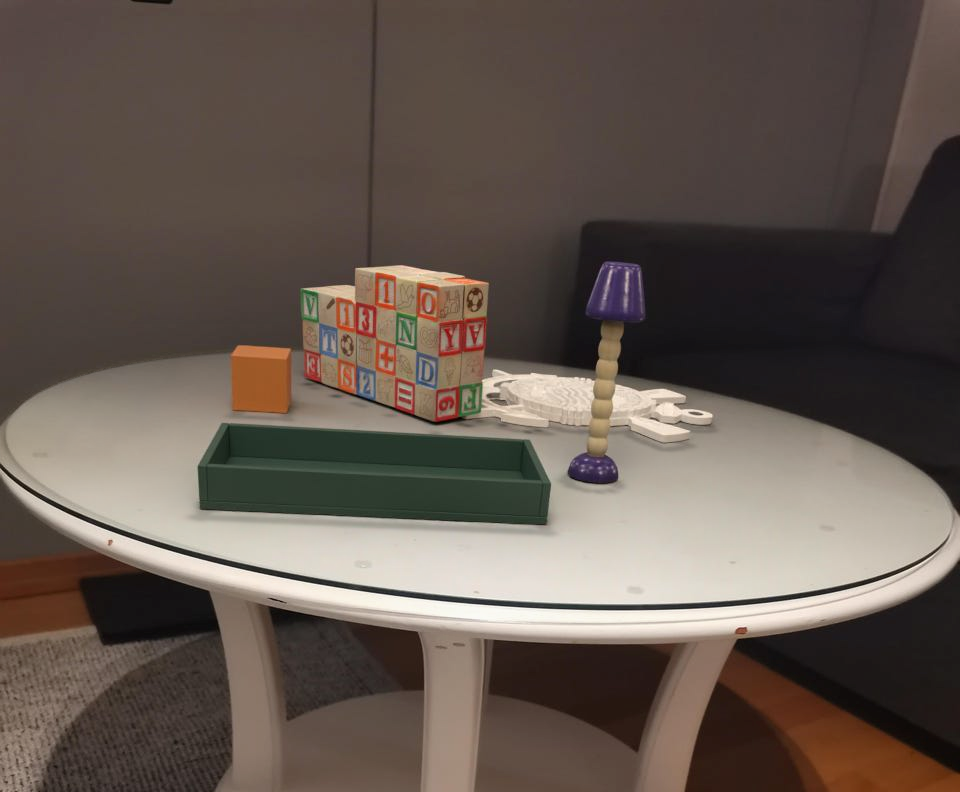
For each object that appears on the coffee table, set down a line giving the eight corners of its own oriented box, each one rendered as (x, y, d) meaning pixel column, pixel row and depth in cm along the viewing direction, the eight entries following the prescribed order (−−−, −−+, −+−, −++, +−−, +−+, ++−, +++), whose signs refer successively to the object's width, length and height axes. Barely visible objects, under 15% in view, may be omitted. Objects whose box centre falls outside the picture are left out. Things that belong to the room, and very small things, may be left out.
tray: (199, 509, 67) (197, 465, 65) (223, 461, 77) (221, 422, 75) (546, 524, 70) (551, 483, 68) (526, 476, 79) (530, 439, 78)
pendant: (465, 372, 114) (466, 360, 113) (706, 399, 111) (709, 387, 110) (427, 414, 95) (428, 400, 94) (717, 449, 92) (720, 434, 91)
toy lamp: (557, 466, 83) (582, 257, 75) (606, 465, 84) (636, 260, 77) (579, 484, 79) (608, 265, 71) (631, 483, 80) (664, 268, 73)
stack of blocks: (302, 378, 104) (298, 256, 99) (349, 372, 108) (347, 254, 103) (436, 422, 91) (439, 283, 85) (483, 413, 95) (490, 279, 89)
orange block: (232, 410, 91) (230, 355, 88) (239, 397, 95) (237, 345, 93) (287, 413, 91) (286, 358, 89) (291, 400, 96) (291, 348, 93)
